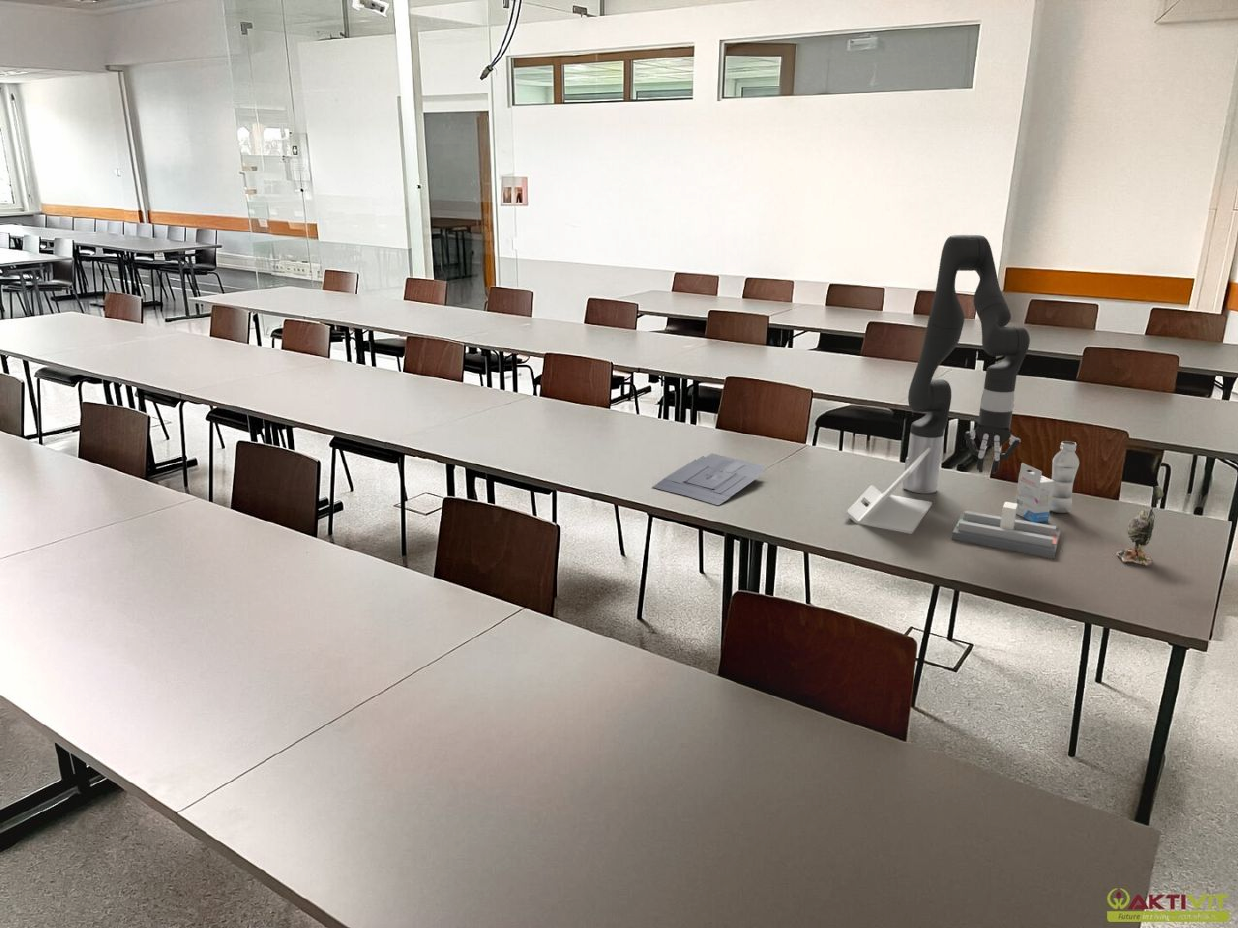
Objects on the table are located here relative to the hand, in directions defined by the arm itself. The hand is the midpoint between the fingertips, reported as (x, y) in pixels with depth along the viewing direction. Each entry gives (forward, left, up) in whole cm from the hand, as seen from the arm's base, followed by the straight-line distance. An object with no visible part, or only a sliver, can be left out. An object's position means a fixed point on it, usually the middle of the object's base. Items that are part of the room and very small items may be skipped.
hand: (987, 472), depth 222 cm
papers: (-76, +1, -17) cm, 78 cm away
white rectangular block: (+7, 0, -15) cm, 16 cm away
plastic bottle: (+16, +28, -17) cm, 37 cm away
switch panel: (+6, 0, -17) cm, 18 cm away
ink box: (+10, +20, -17) cm, 28 cm away
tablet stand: (-24, +4, -17) cm, 30 cm away
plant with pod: (+36, +3, -17) cm, 40 cm away
